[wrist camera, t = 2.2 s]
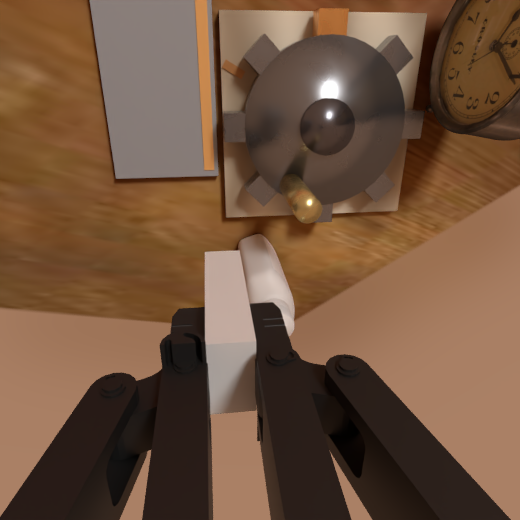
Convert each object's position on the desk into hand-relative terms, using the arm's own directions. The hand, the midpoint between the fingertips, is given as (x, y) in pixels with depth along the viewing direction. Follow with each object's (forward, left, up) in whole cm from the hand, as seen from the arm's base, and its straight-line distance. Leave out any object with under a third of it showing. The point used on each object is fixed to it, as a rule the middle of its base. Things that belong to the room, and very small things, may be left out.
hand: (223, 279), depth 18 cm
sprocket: (+8, +4, -17) cm, 19 cm away
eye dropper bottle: (+4, -8, -18) cm, 20 cm away
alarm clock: (+19, +9, -18) cm, 28 cm away
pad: (-4, +7, -18) cm, 19 cm away
